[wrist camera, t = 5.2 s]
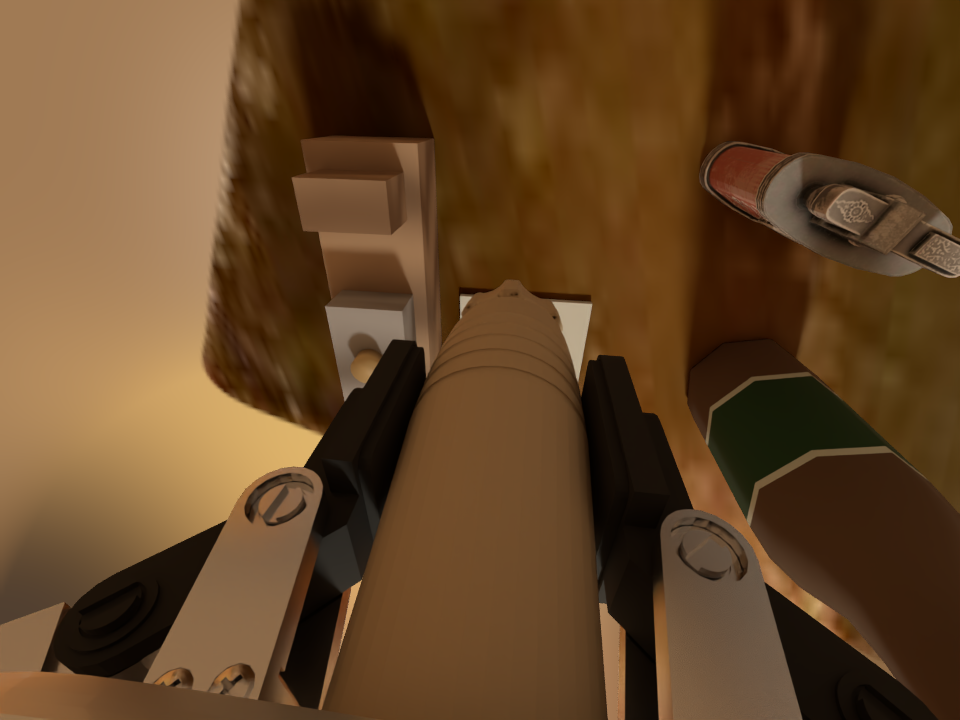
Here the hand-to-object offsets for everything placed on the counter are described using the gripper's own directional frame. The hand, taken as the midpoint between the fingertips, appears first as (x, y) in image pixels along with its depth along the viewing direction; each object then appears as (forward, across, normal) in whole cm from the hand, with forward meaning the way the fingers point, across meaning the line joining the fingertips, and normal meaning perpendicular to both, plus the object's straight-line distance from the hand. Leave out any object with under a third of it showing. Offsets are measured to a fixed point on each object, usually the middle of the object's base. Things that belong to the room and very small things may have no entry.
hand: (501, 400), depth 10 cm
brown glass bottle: (+18, -17, +11) cm, 27 cm away
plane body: (+18, +8, +5) cm, 20 cm away
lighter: (+18, -14, -2) cm, 23 cm away
